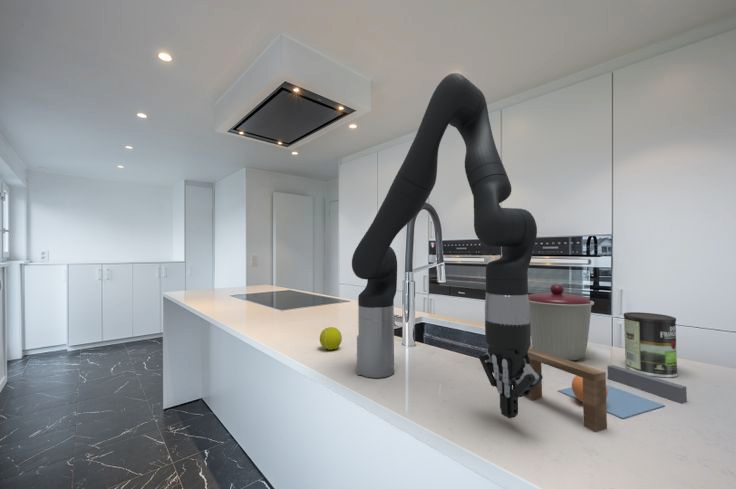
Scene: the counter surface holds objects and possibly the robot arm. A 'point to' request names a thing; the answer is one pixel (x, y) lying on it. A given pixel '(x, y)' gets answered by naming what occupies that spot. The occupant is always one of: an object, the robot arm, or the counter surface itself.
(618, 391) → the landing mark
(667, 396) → the stopper
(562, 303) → the canister
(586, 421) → the bridge
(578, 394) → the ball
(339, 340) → the tennis ball
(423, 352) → the counter surface
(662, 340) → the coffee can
